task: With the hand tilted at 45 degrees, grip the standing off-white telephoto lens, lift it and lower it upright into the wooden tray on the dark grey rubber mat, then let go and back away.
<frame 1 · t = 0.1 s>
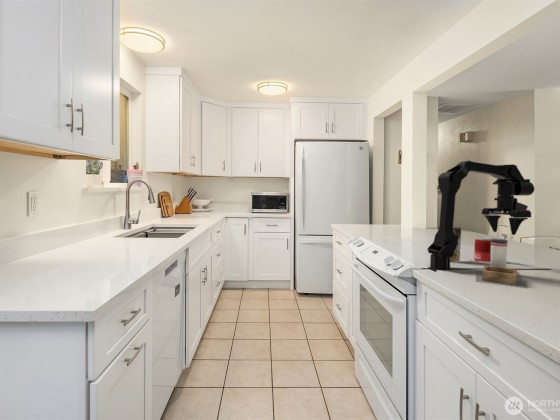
hand: (504, 233, 128), 15 cm above the worktop, tool pointing down, fingers open, 9 cm apart
white lens: (497, 273, 118), point 1 cm above the worktop, touching rubber mat
rubber mat: (498, 278, 113), on the worktop
canned food: (484, 262, 141), on the worktop
coffee box: (448, 262, 140), on the worktop
wooden tray: (499, 279, 109), resting on rubber mat
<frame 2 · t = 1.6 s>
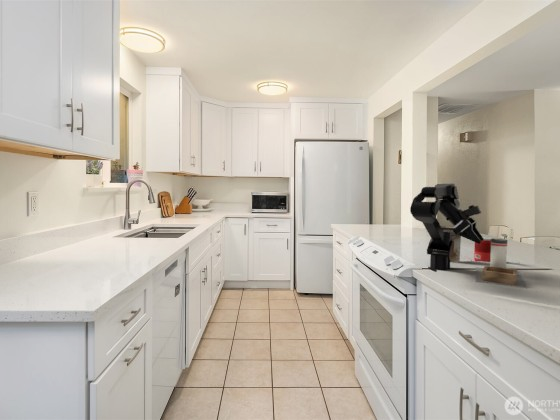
hand: (481, 241, 120), 12 cm above the worktop, tool tilted 45°, fingers open, 9 cm apart
nothing on the worktop moved.
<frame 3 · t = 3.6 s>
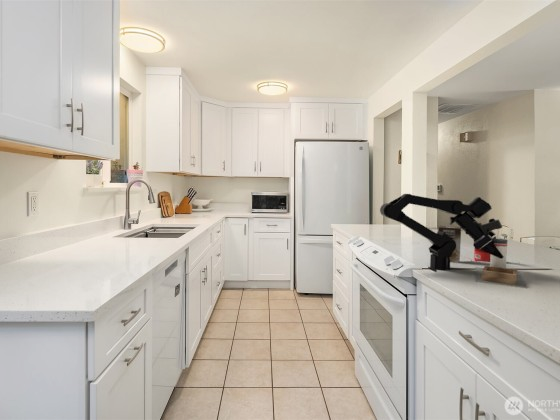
hand: (503, 256, 116), 7 cm above the worktop, tool tilted 45°, fingers closed on white lens, 5 cm apart
white lens: (497, 273, 118), point 1 cm above the worktop, touching gripper, rubber mat
everything else where it was.
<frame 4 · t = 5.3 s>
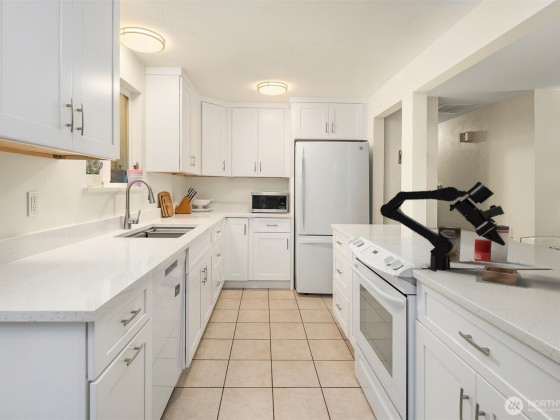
hand: (504, 243, 113), 13 cm above the worktop, tool tilted 45°, fingers closed on white lens, 5 cm apart
white lens: (498, 261, 114), point 6 cm above the worktop, touching gripper
everything else where it was.
when the fingers open (10 cm above the worktop, at t = 6.9 s): white lens drops 2 cm, resting on wooden tray.
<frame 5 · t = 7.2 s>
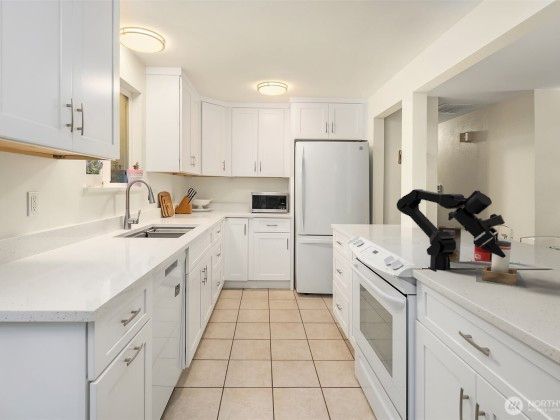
hand: (505, 255, 108), 10 cm above the worktop, tool tilted 45°, fingers open, 8 cm apart
white lens: (499, 278, 109), point 1 cm above the worktop, touching wooden tray
everything else where it was.
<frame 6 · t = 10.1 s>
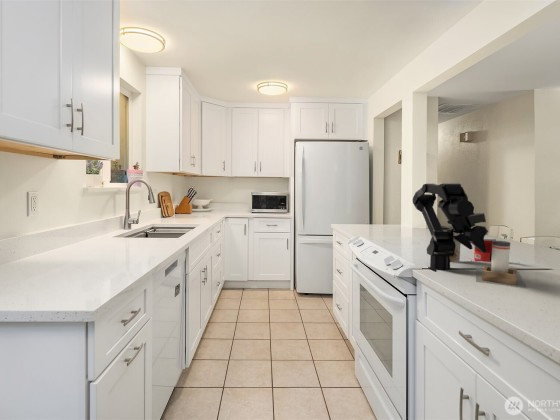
hand: (478, 250, 116), 10 cm above the worktop, tool tilted 35°, fingers open, 9 cm apart
nothing on the worktop moved.
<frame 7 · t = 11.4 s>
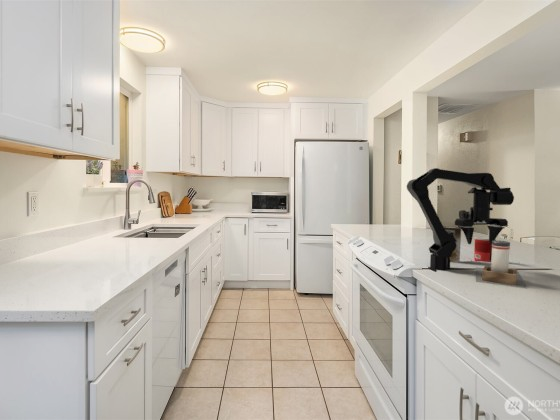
hand: (480, 243, 124), 11 cm above the worktop, tool pointing down, fingers open, 9 cm apart
nothing on the worktop moved.
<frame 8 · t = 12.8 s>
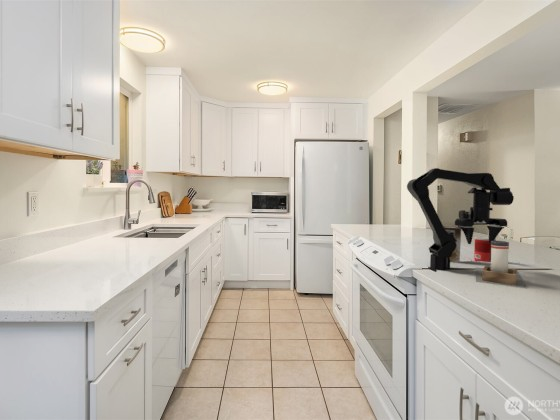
hand: (479, 243, 124), 11 cm above the worktop, tool pointing down, fingers open, 9 cm apart
nothing on the worktop moved.
at the end: white lens 0.1 cm off-centre on the wooden tray, point 0.5 cm above the wooden tray's base; white lens tilted 1°; the gripper is holding nothing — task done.
